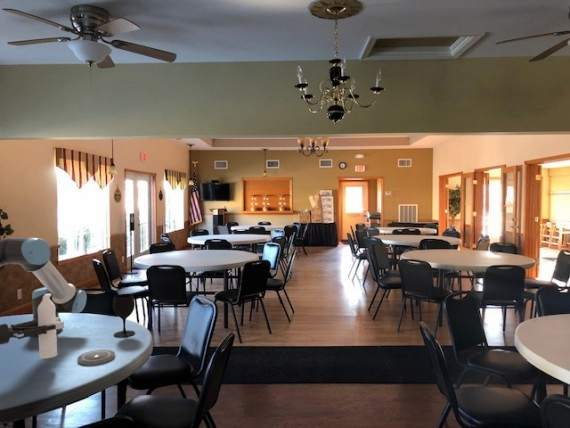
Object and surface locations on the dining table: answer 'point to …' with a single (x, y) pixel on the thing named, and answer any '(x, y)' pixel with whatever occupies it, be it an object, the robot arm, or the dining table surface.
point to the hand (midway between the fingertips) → (60, 322)
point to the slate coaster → (96, 357)
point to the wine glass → (123, 312)
